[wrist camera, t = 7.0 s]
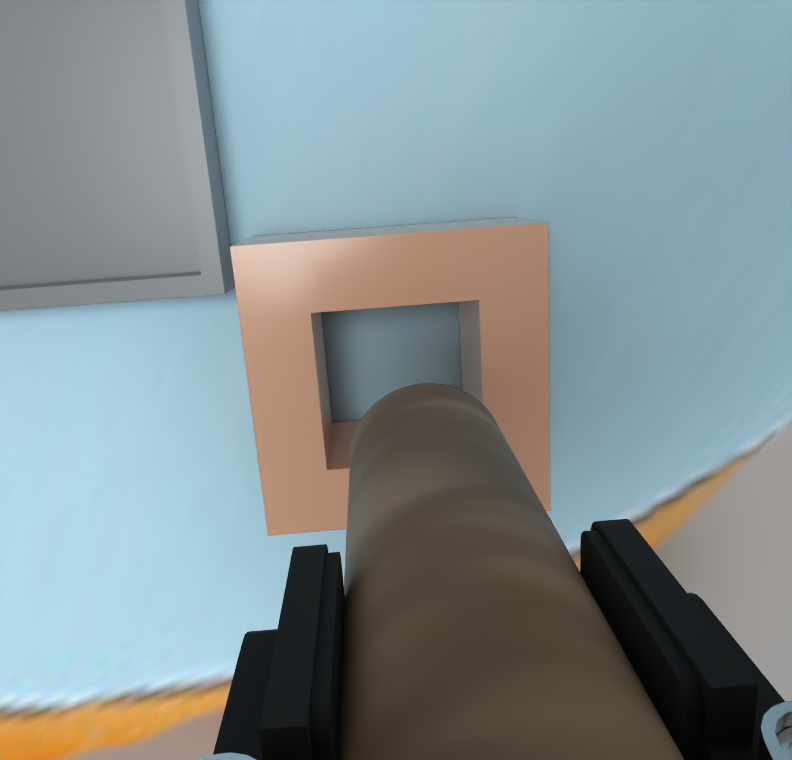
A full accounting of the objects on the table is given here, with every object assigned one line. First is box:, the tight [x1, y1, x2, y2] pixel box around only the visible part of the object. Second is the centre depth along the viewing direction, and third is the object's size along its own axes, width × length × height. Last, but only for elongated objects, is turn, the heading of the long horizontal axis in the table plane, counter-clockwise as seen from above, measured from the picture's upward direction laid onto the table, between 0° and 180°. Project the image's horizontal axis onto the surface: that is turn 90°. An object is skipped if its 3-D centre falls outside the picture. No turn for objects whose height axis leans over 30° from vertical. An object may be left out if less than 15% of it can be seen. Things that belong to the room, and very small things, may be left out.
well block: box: [230, 217, 550, 536], centre depth 28 cm, size 11×11×6 cm
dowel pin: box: [338, 383, 684, 760], centre depth 12 cm, size 4×4×12 cm
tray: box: [0, 0, 235, 311], centre depth 26 cm, size 13×13×2 cm
